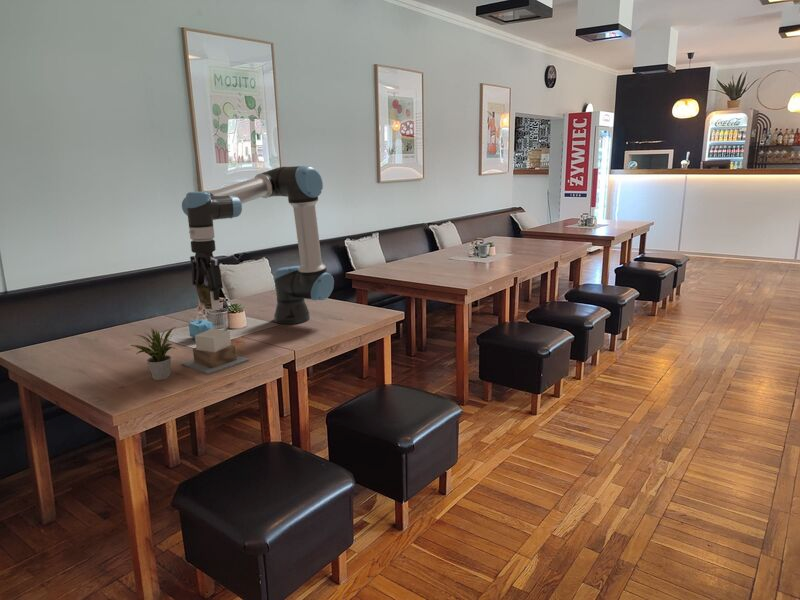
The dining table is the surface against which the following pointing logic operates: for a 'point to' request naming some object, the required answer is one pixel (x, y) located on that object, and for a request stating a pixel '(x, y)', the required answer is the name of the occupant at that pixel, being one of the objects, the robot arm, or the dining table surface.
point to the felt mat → (212, 370)
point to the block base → (215, 357)
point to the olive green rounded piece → (204, 295)
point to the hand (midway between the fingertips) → (209, 307)
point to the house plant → (157, 355)
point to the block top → (213, 340)
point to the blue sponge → (199, 327)
